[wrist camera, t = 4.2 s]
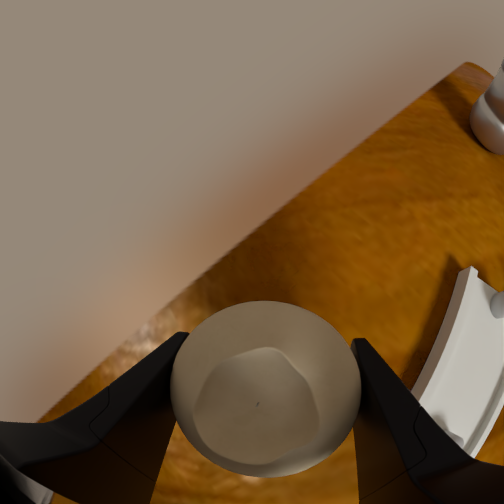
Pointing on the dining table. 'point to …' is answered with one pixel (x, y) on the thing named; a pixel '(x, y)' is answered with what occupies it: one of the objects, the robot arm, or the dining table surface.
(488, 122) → the plastic bottle
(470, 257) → the dining table surface
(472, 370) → the tray
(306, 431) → the candle
